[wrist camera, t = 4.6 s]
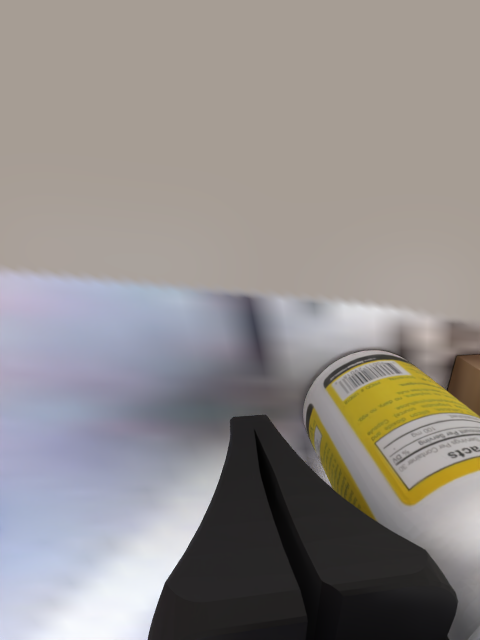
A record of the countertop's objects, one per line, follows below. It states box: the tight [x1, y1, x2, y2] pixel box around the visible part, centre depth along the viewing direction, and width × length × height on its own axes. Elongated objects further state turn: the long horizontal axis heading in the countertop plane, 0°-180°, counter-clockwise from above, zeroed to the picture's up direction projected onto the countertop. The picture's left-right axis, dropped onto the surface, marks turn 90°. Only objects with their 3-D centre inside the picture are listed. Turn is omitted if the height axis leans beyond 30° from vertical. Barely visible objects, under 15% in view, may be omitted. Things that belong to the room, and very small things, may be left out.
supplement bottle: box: [303, 350, 480, 640], centre depth 10 cm, size 5×5×10 cm
